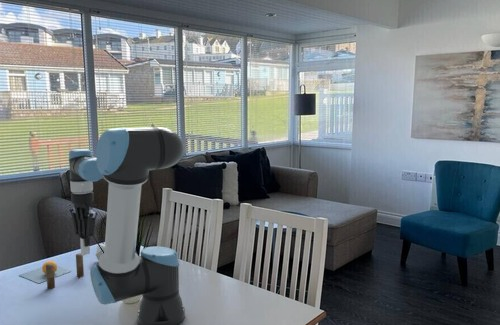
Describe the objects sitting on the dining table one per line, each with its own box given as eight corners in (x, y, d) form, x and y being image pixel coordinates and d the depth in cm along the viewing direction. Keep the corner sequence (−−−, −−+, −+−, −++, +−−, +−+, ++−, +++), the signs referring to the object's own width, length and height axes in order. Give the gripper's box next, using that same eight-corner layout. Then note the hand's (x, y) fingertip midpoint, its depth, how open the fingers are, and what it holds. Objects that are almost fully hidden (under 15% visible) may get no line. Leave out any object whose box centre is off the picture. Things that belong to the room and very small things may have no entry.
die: (110, 267, 175) (120, 246, 179) (91, 259, 173) (102, 238, 177) (108, 267, 183) (118, 247, 186) (90, 259, 180) (101, 239, 184)
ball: (51, 261, 170) (55, 273, 169) (37, 265, 166) (42, 278, 165) (56, 257, 167) (61, 269, 166) (43, 261, 163) (48, 274, 162)
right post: (85, 275, 165) (84, 254, 164) (79, 277, 163) (78, 256, 162) (81, 274, 167) (80, 252, 165) (75, 276, 165) (74, 254, 163)
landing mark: (71, 271, 169) (71, 271, 169) (38, 283, 157) (38, 283, 157) (51, 264, 177) (51, 263, 177) (18, 275, 165) (18, 275, 165)
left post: (56, 286, 155) (54, 264, 154) (49, 289, 153) (48, 266, 151) (52, 285, 156) (50, 262, 155) (45, 287, 154) (44, 265, 153)
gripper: (102, 192, 147) (105, 254, 151) (80, 188, 154) (83, 247, 157) (84, 195, 141) (87, 260, 144) (61, 191, 148) (65, 253, 151)
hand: (85, 254), depth 151 cm, fingers closed
